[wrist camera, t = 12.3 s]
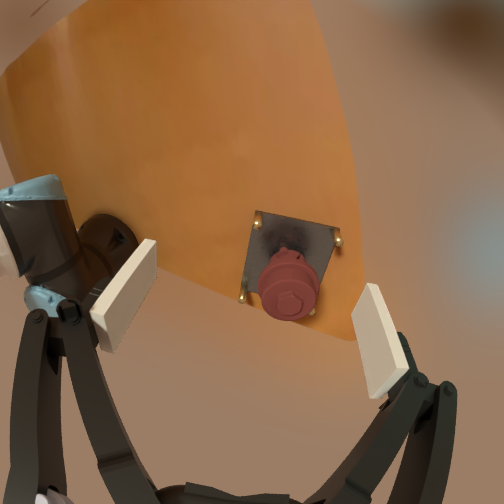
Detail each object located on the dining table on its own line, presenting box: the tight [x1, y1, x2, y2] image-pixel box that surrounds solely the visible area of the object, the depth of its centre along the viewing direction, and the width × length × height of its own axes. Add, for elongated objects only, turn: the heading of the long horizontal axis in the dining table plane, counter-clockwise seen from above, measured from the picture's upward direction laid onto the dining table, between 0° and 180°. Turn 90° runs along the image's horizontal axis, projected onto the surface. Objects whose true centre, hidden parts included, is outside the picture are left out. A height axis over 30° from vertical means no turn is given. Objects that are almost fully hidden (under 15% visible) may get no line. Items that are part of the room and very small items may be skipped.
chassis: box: [238, 211, 343, 316], centre depth 50 cm, size 15×17×4 cm
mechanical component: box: [257, 247, 319, 321], centre depth 46 cm, size 12×10×10 cm
